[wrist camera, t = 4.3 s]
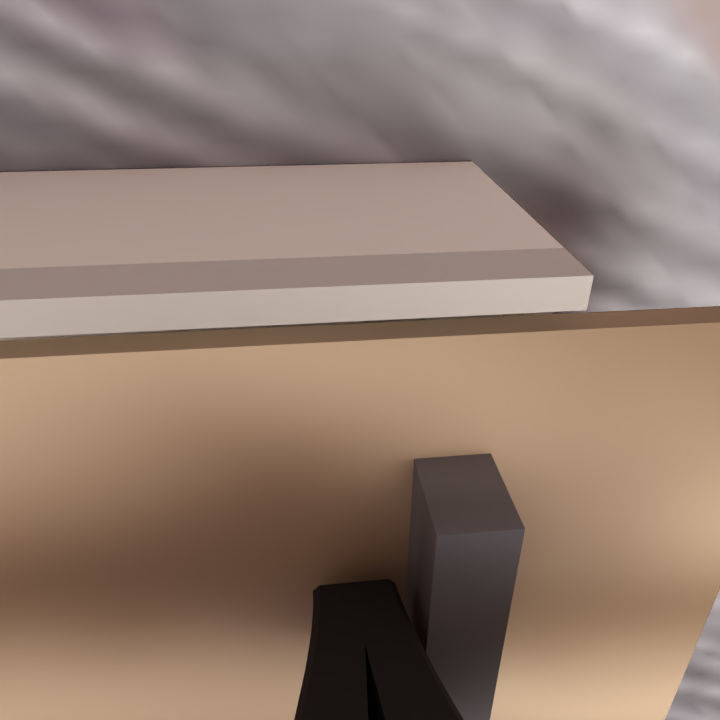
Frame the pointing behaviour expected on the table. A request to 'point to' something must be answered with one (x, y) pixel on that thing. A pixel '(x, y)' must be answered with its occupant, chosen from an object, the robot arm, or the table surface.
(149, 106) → the table surface
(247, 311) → the box
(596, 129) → the table surface
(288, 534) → the lid
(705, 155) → the table surface
